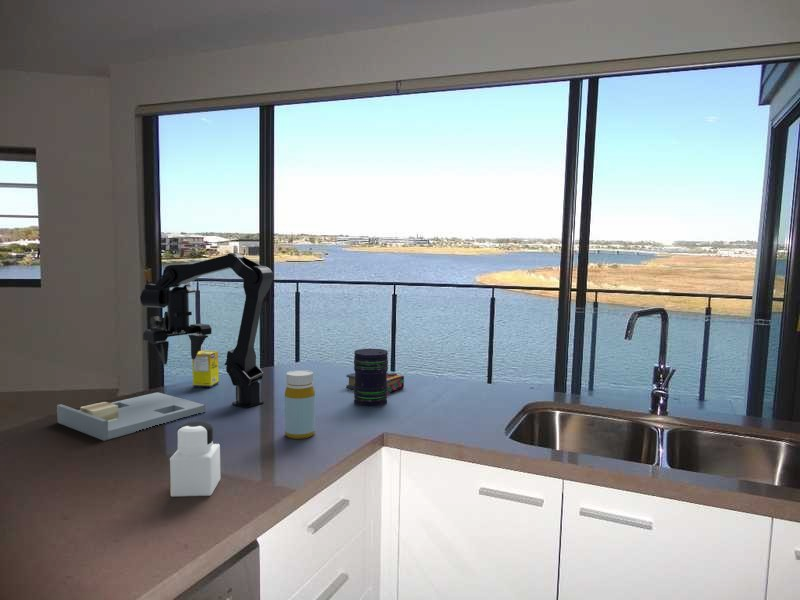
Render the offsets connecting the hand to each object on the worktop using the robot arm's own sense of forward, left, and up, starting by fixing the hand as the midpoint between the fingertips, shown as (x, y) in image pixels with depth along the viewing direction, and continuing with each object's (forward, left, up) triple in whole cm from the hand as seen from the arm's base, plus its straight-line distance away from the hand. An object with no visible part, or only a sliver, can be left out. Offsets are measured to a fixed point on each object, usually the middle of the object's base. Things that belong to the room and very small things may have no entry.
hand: (179, 361), depth 157 cm
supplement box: (+7, -14, -11) cm, 19 cm away
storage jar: (-47, -30, -11) cm, 57 cm away
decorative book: (-39, -44, -12) cm, 60 cm away
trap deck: (-6, +17, -11) cm, 21 cm away
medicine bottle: (-55, +34, -11) cm, 66 cm away
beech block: (-6, +26, -9) cm, 28 cm away
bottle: (-50, +2, -11) cm, 51 cm away
